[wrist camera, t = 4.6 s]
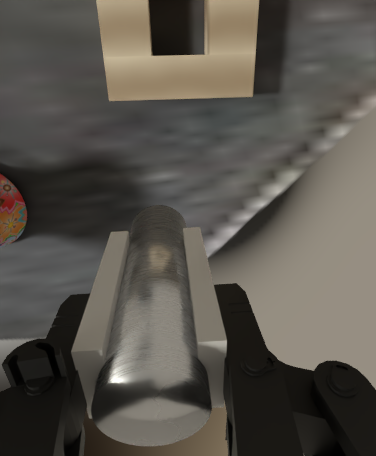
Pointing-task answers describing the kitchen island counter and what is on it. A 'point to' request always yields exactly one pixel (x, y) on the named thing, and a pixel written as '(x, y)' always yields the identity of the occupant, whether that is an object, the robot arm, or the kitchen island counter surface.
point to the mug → (11, 212)
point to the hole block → (178, 64)
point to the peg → (153, 342)
